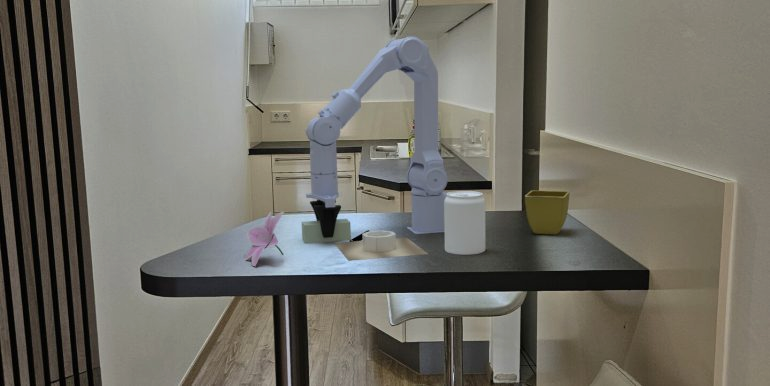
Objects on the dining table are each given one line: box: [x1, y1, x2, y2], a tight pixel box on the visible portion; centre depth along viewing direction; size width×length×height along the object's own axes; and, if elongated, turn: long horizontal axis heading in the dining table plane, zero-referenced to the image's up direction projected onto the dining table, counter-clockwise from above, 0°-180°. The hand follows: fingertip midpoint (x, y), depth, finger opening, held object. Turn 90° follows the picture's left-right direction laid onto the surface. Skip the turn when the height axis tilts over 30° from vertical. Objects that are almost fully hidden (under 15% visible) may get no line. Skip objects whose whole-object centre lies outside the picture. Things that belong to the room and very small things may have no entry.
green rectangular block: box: [301, 218, 352, 244], centre depth 153 cm, size 10×4×4 cm, turn 104°
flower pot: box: [524, 189, 571, 236], centre depth 158 cm, size 9×9×9 cm
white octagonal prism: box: [361, 230, 397, 252], centre depth 144 cm, size 6×6×3 cm
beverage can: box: [444, 190, 486, 256], centre depth 140 cm, size 8×8×12 cm
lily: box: [244, 211, 285, 267], centre depth 138 cm, size 12×12×10 cm
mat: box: [333, 237, 429, 262], centre depth 144 cm, size 16×16×1 cm
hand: (326, 234), depth 153 cm, fingers closed on green rectangular block, 4 cm apart
